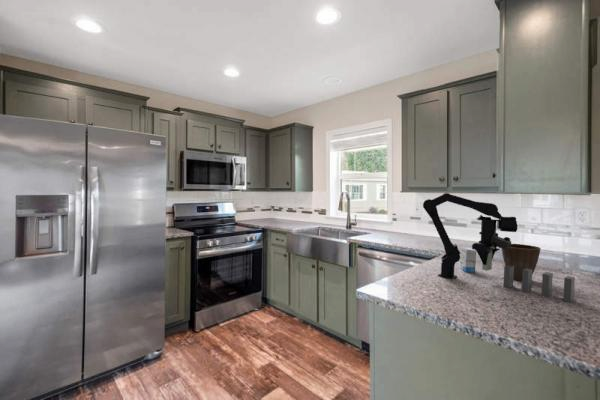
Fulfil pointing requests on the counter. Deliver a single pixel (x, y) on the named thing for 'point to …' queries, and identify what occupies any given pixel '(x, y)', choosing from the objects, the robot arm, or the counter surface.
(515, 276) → the plant pot
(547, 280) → the domino
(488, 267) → the sage domino
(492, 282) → the counter surface
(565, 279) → the domino end
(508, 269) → the domino
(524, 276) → the domino
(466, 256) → the ink box
